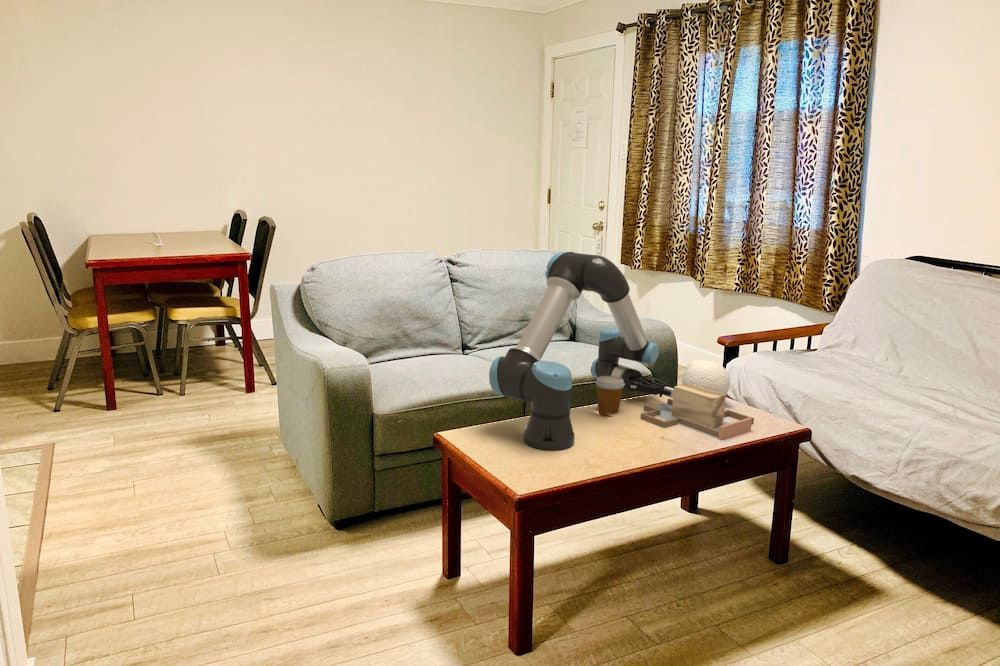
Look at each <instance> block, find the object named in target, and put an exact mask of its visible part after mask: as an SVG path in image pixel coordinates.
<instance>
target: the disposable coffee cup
mask: <svg viewBox="0 0 1000 666" xmlns="http://www.w3.org/2000/svg"><path fill="white" fill-rule="evenodd" d="M595 385H596V389H597V390H596V393H597V394H596V396H597V407H598V408H597V409H598V414H599V416H602V417H605V418H613V417H614V416H612V415H614V414H618V413H619V410H620V406H621V399H622V396H623V395H622V394H623V389H624V388H623V387H624V385H625V383H624V380H623V379H622V378H619V377H615V376H601V377H598V378H596V381H595Z"/></svg>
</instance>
